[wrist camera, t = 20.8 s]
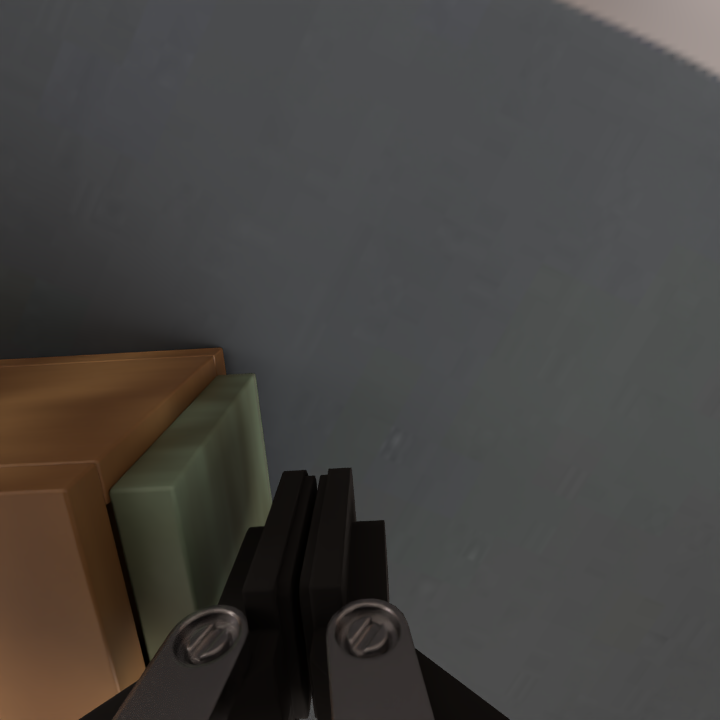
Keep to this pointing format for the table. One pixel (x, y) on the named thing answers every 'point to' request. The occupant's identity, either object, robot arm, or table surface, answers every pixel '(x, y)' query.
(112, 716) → the robot arm
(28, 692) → the cabinet
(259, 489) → the drawer
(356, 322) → the table surface
